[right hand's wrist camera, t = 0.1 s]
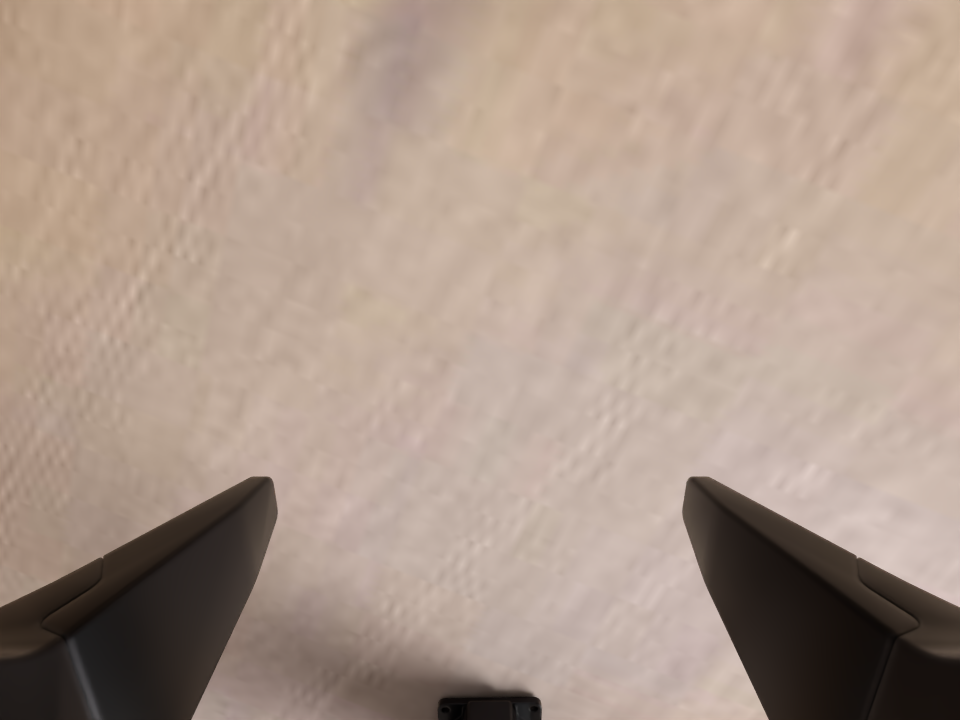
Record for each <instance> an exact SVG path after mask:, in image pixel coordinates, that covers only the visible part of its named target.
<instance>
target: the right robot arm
mask: <svg viewBox="0 0 960 720" xmlns="http://www.w3.org/2000/svg"><path fill="white" fill-rule="evenodd" d="M277 514H278V510H277V502H276V496H275V490H274V484H273V481H272V479H271V478H270V477H250V478H248V479H246V480H244V481H243V482H241V483H239V484H237V485H235V486H233V487H231V488H229V489H228V490H226V491H224V492H222V493H220V494H218V495H216V496H214V497H213V498H211V499H209V500H207V501H205V502H203V503H201V504H199V505H198V506H196V507H194V508H192V509H190V510H188V511H186V512H185V513H183V514H181V515H179V516H177V517H175V518H173V519H171V520H170V521H168V522H166V523H164V524H162V525H160V526H158V527H156V528H155V529H153V530H151V531H149V532H147V533H145V534H143V535H141V536H140V537H138V538H136V539H134V540H132V541H130V542H128V543H127V544H125V545H123V546H121V547H119V548H117V549H115V550H113V551H112V552H110V553H108V554H106V555H104V557H103V558H98V559H96V560H94V561H93V562H91V563H89V564H87V565H85V566H83V567H81V568H80V569H78V570H76V571H74V572H72V573H70V574H68V575H66V576H64V577H62V578H60V579H58V580H56V581H54V582H52V583H50V584H48V585H46V586H44V587H42V588H40V589H38V590H36V591H34V592H32V593H30V594H28V595H25V596H23V597H21V598H19V599H17V600H15V601H13V602H11V603H9V604H7V605H4V606H2V607H0V720H191V719H192V717H193V715H194V712H195V710H196V708H197V706H198V704H199V702H200V700H201V698H202V695H203V693H204V691H205V689H206V687H207V685H208V683H209V680H210V678H211V676H212V674H213V672H214V670H215V668H216V666H217V663H218V661H219V659H220V657H221V655H222V653H223V651H224V649H225V646H226V644H227V642H228V640H229V638H230V636H231V634H232V631H233V629H234V627H235V625H236V623H237V621H238V619H239V617H240V614H241V612H242V610H243V608H244V606H245V604H246V602H247V600H248V597H249V595H250V593H251V591H252V589H253V586H254V584H255V582H256V579H257V576H258V574H259V571H260V568H261V565H262V562H263V559H264V556H265V553H266V550H267V547H268V544H269V541H270V538H271V535H272V532H273V529H274V526H275V523H276V520H277ZM682 514H683V520H684V523H685V526H686V529H687V532H688V535H689V538H690V541H691V544H692V547H693V550H694V553H695V556H696V559H697V562H698V565H699V568H700V571H701V574H702V576H703V579H704V582H705V584H706V586H707V589H708V591H709V593H710V595H711V597H712V600H713V602H714V604H715V606H716V608H717V610H718V612H719V614H720V617H721V619H722V621H723V623H724V625H725V627H726V629H727V631H728V634H729V636H730V638H731V640H732V642H733V644H734V646H735V649H736V651H737V653H738V655H739V657H740V659H741V661H742V663H743V666H744V668H745V670H746V672H747V674H748V676H749V678H750V680H751V683H752V685H753V687H754V689H755V691H756V693H757V695H758V698H759V700H760V702H761V704H762V706H763V708H764V710H765V712H766V715H767V717H768V719H769V720H960V607H958V606H956V605H953V604H951V603H949V602H947V601H945V600H943V599H941V598H939V597H937V596H935V595H932V594H930V593H928V592H926V591H924V590H922V589H920V588H918V587H916V586H914V585H912V584H910V583H908V582H906V581H904V580H902V579H900V578H898V577H896V576H894V575H892V574H890V573H888V572H886V571H884V570H882V569H880V568H879V567H877V566H875V565H873V564H871V563H869V562H867V561H866V560H864V559H862V558H857V557H856V555H854V554H852V553H850V552H849V551H847V550H845V549H843V548H841V547H839V546H837V545H835V544H834V543H832V542H830V541H828V540H826V539H824V538H822V537H820V536H819V535H817V534H815V533H813V532H811V531H809V530H807V529H805V528H804V527H802V526H800V525H798V524H796V523H794V522H792V521H790V520H789V519H787V518H785V517H783V516H781V515H779V514H777V513H775V512H774V511H772V510H770V509H768V508H766V507H764V506H762V505H760V504H759V503H757V502H755V501H753V500H751V499H749V498H747V497H746V496H744V495H742V494H740V493H738V492H736V491H734V490H732V489H731V488H729V487H727V486H725V485H723V484H721V483H719V482H717V481H716V480H714V479H712V478H710V477H690V478H689V479H688V481H687V484H686V490H685V496H684V503H683V510H682ZM541 714H542V707H541V701H540V699H538V698H536V697H501V698H444V699H441V700H440V701H439V703H438V720H541Z"/></svg>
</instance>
